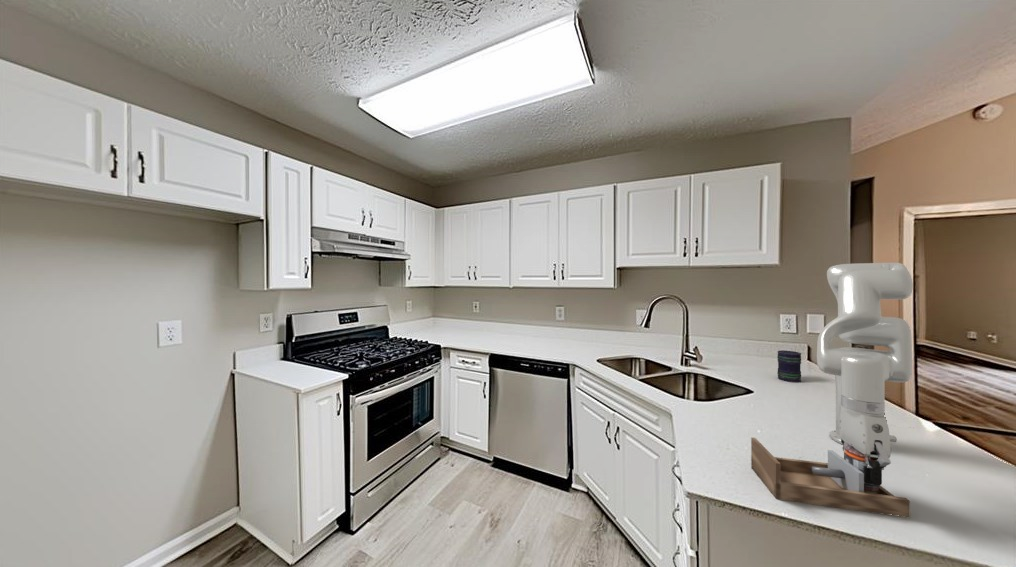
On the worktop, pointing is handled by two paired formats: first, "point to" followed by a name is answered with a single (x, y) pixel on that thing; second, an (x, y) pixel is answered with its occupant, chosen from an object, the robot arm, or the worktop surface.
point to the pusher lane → (818, 485)
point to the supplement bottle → (859, 464)
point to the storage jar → (789, 366)
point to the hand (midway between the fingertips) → (862, 475)
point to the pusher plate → (841, 473)
